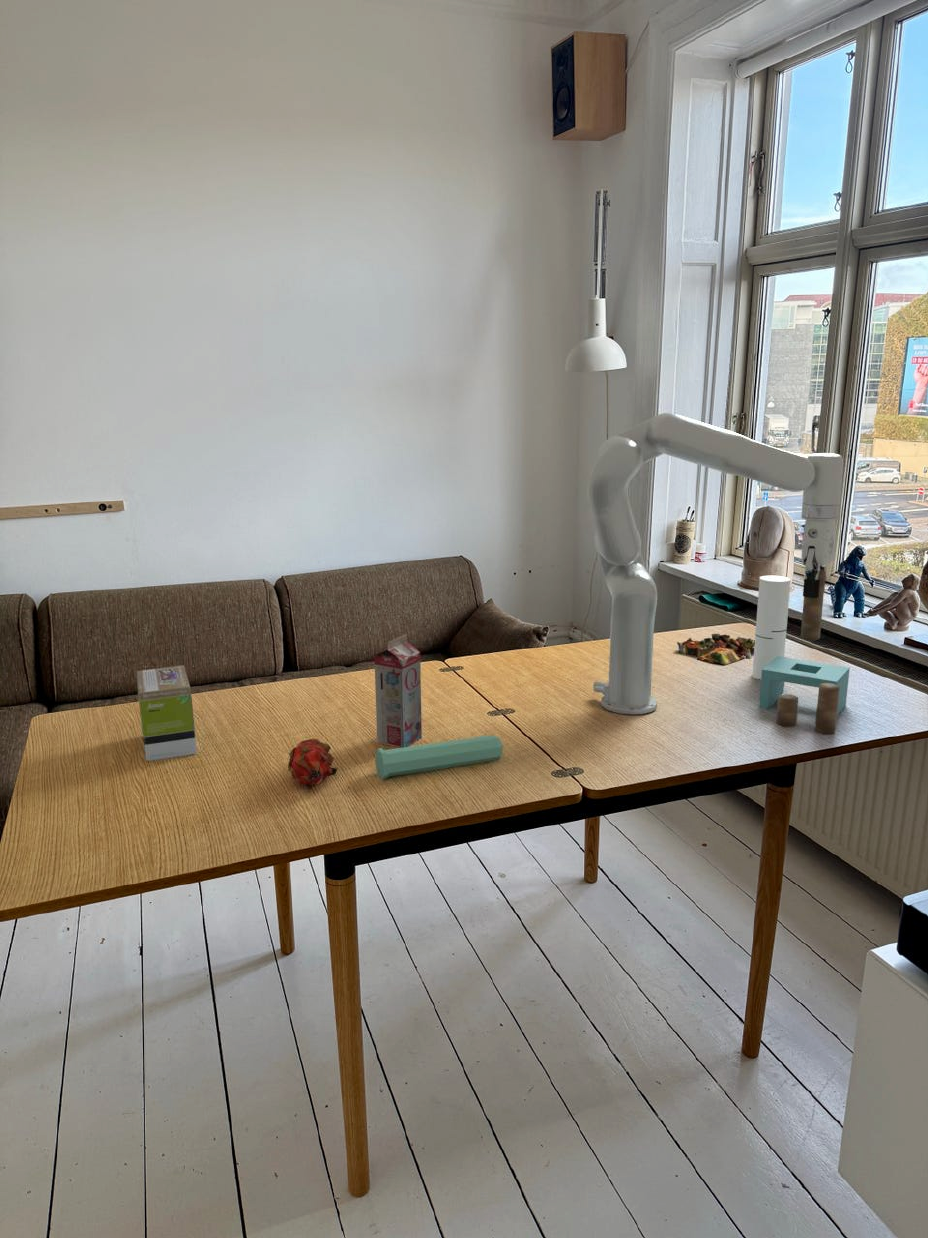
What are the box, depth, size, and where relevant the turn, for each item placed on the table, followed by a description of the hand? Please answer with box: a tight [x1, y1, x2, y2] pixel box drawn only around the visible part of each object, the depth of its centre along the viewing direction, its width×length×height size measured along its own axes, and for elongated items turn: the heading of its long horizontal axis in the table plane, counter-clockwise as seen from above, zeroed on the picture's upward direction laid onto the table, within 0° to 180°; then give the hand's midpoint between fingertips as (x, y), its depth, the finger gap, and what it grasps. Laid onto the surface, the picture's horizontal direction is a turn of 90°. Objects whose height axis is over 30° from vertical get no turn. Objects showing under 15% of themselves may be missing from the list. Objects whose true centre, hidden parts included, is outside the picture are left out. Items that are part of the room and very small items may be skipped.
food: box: [676, 633, 755, 666], centre depth 252 cm, size 22×19×4 cm
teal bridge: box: [758, 656, 851, 717], centre depth 209 cm, size 16×12×9 cm
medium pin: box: [814, 683, 840, 736], centre depth 194 cm, size 4×4×10 cm
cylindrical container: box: [751, 574, 792, 680], centre depth 228 cm, size 7×7×25 cm
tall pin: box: [800, 569, 827, 641], centre depth 204 cm, size 4×4×15 cm
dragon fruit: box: [287, 738, 338, 790], centre depth 172 cm, size 8×8×12 cm
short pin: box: [775, 693, 799, 728], centre depth 199 cm, size 4×4×6 cm
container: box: [374, 734, 504, 780], centre depth 179 cm, size 6×6×25 cm
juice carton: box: [373, 633, 423, 748], centre depth 189 cm, size 7×7×22 cm
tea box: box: [136, 664, 198, 762], centre depth 189 cm, size 15×10×15 cm
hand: (813, 594), depth 203 cm, fingers closed on tall pin, 4 cm apart
